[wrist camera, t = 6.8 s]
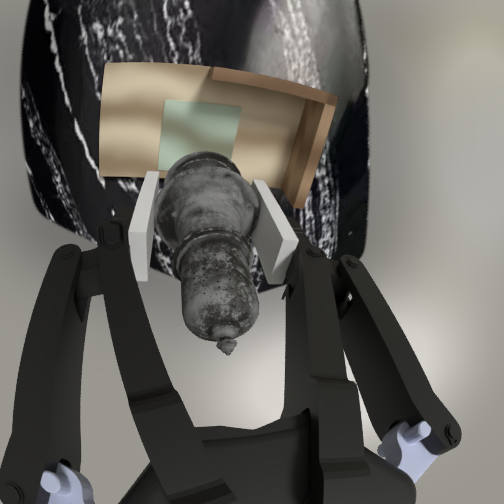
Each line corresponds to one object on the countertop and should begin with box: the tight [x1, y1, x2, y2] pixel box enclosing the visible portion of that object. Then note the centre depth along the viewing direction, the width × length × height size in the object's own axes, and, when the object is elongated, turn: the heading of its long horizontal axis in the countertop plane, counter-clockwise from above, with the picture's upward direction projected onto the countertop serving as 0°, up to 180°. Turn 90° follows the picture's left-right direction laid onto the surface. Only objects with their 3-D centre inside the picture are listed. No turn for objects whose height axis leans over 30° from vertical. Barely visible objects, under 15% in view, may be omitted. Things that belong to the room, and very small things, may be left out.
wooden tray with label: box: [99, 62, 339, 209], centre depth 25 cm, size 13×23×6 cm, turn 78°
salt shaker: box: [154, 151, 259, 355], centre depth 13 cm, size 6×6×12 cm
